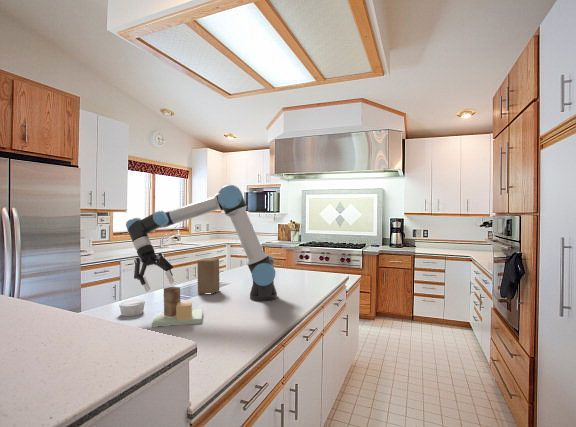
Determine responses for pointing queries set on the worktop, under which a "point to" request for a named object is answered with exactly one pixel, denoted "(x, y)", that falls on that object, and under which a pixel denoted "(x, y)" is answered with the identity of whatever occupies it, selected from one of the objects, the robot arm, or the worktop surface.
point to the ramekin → (132, 307)
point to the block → (208, 275)
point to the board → (167, 320)
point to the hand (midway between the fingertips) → (160, 286)
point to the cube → (184, 310)
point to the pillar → (171, 300)
